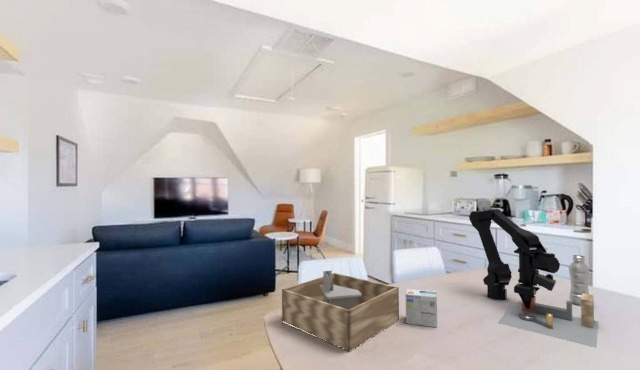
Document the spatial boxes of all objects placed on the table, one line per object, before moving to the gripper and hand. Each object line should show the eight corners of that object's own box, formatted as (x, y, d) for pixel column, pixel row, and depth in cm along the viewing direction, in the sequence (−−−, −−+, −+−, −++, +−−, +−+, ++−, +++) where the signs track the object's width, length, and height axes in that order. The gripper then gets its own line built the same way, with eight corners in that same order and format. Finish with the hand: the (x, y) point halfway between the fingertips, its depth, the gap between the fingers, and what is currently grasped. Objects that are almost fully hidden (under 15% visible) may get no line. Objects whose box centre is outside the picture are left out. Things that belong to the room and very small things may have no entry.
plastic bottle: (594, 308, 123) (593, 258, 124) (575, 307, 125) (574, 257, 125) (584, 303, 130) (583, 254, 130) (565, 302, 131) (564, 254, 131)
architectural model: (315, 343, 99) (314, 286, 99) (303, 314, 123) (303, 267, 123) (383, 336, 104) (382, 281, 104) (359, 308, 127) (358, 264, 127)
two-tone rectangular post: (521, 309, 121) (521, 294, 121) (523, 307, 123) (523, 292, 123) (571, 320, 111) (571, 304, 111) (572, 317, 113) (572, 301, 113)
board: (497, 325, 110) (497, 322, 110) (513, 305, 128) (513, 303, 128) (596, 350, 92) (596, 347, 92) (598, 323, 110) (598, 321, 110)
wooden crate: (282, 322, 114) (281, 289, 114) (334, 300, 135) (334, 272, 136) (349, 351, 93) (349, 311, 93) (398, 320, 115) (398, 287, 115)
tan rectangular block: (581, 325, 107) (580, 299, 107) (582, 318, 113) (582, 293, 113) (593, 328, 105) (592, 301, 105) (593, 320, 111) (593, 295, 111)
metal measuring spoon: (547, 329, 104) (547, 316, 104) (515, 316, 115) (515, 304, 115) (557, 327, 106) (557, 314, 106) (525, 314, 116) (525, 302, 117)
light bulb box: (437, 320, 115) (436, 290, 115) (437, 328, 108) (437, 296, 108) (406, 316, 118) (406, 287, 118) (405, 324, 112) (405, 293, 112)
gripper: (550, 275, 108) (551, 320, 108) (556, 265, 122) (557, 305, 122) (513, 270, 116) (513, 312, 116) (523, 261, 130) (524, 299, 130)
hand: (528, 307), depth 121 cm, fingers closed on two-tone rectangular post, 3 cm apart
